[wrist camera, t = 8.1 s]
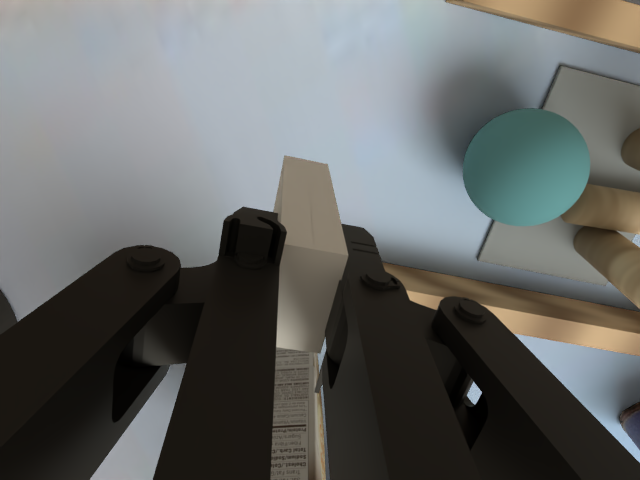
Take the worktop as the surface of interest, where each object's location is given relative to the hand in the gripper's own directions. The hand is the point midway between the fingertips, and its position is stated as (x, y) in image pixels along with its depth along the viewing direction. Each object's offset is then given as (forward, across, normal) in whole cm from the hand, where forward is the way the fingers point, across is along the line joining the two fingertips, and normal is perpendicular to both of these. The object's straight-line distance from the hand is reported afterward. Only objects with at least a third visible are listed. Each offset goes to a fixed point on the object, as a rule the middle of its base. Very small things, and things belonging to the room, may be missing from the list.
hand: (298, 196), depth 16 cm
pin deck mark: (+10, -18, 0) cm, 20 cm away
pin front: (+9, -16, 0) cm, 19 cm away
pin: (+10, -20, +3) cm, 22 cm away
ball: (+8, -12, -1) cm, 14 cm away
